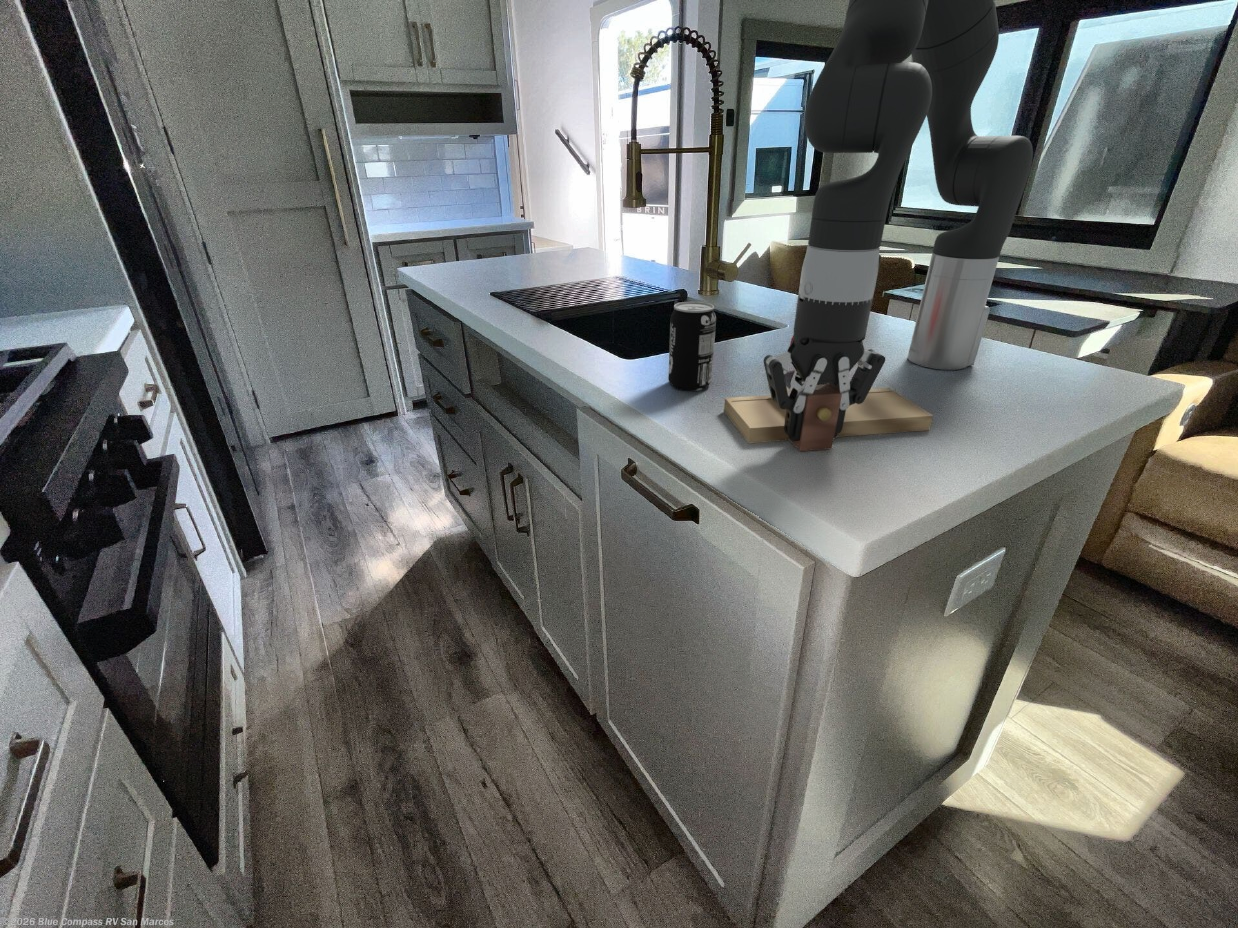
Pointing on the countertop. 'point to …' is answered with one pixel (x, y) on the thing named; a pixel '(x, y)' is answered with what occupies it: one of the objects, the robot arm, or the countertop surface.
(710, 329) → the beverage can
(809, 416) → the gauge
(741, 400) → the board
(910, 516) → the countertop surface
